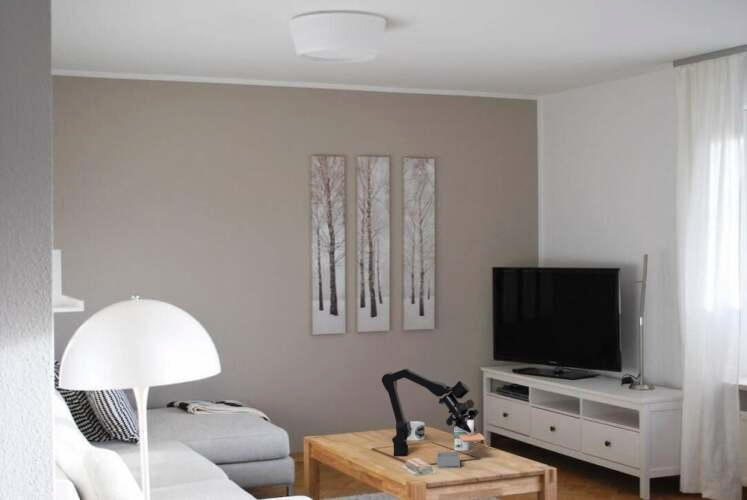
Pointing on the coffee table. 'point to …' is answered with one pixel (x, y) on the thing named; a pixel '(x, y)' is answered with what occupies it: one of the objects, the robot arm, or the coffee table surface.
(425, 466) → the packaged product
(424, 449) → the coffee table surface
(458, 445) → the light bulb box
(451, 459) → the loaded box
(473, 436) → the lid
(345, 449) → the coffee table surface
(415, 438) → the mug
